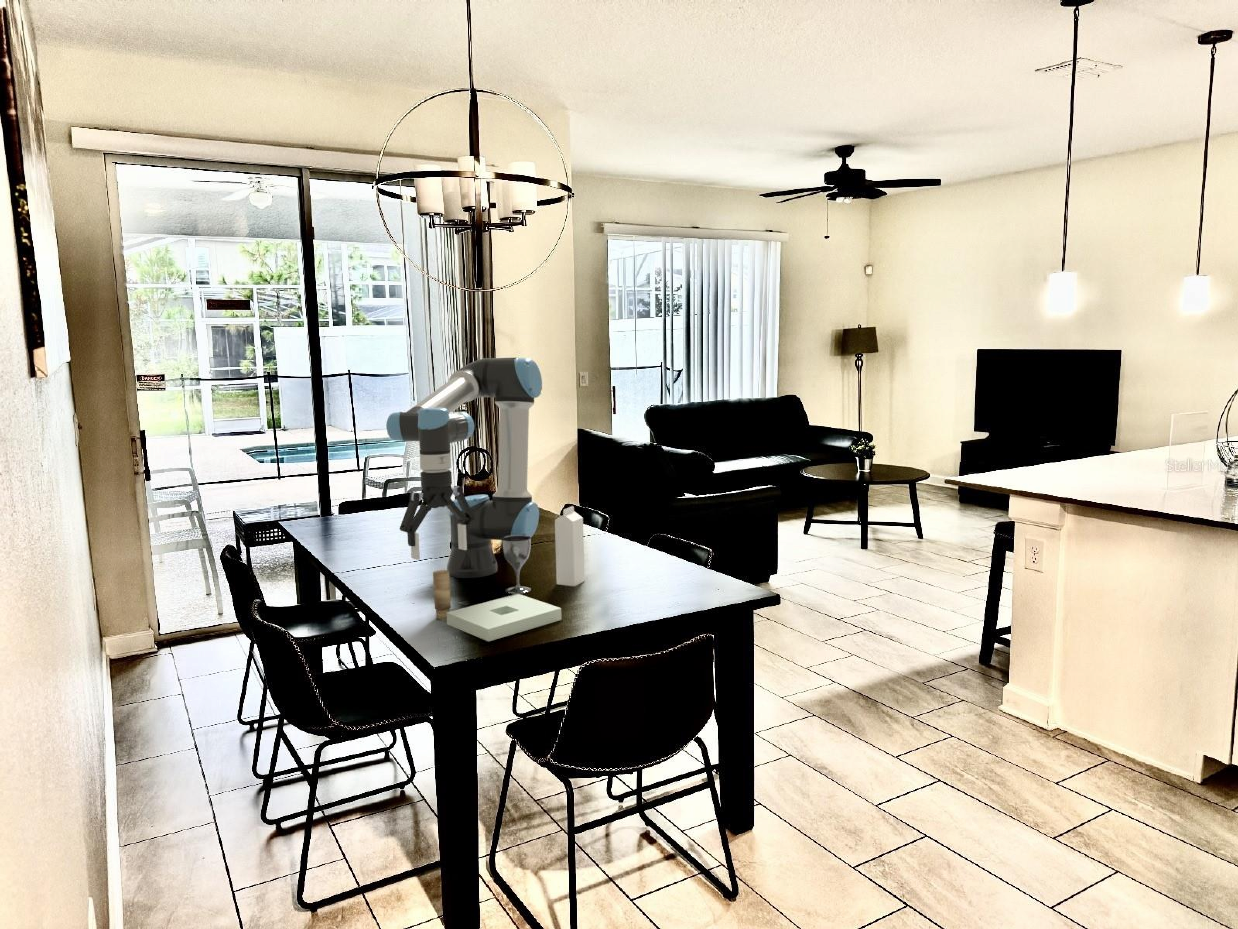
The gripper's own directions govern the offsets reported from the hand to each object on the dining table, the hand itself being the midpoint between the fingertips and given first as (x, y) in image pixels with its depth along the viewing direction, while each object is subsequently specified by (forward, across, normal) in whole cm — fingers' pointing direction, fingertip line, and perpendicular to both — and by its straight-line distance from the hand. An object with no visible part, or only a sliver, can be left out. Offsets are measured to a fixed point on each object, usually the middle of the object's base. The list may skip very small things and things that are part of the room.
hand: (439, 554), depth 221 cm
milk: (+17, +43, +1) cm, 46 cm away
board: (+17, +9, -14) cm, 24 cm away
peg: (+17, 0, 0) cm, 17 cm away
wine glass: (+17, +28, +6) cm, 33 cm away
